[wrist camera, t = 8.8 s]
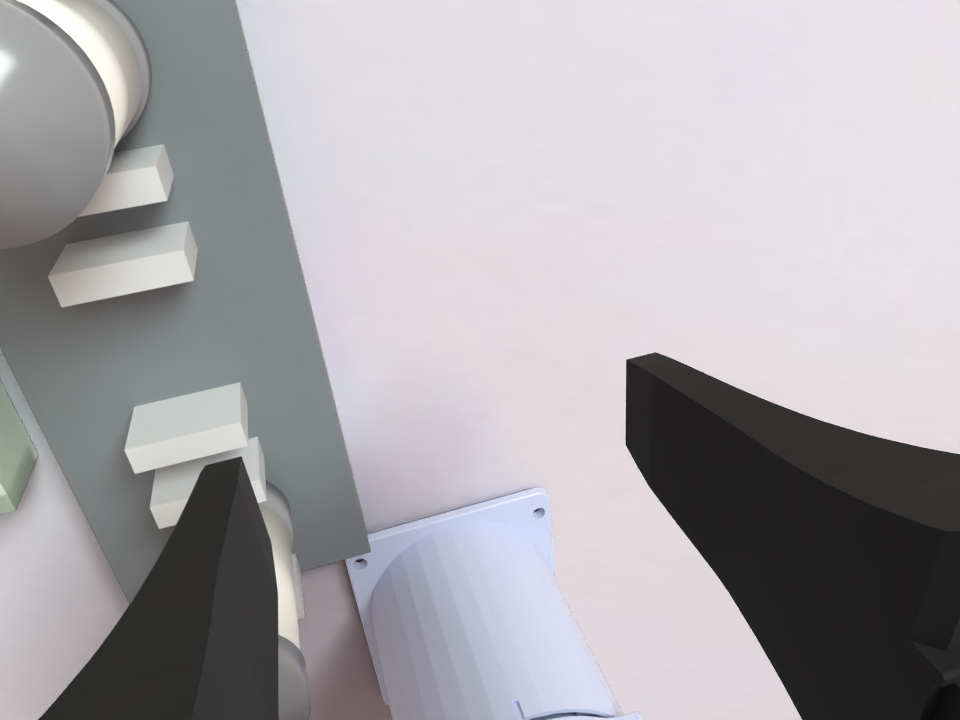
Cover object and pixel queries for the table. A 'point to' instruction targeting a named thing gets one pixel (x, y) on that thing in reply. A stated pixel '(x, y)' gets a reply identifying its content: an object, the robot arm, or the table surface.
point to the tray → (13, 455)
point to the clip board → (182, 316)
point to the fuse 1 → (63, 108)
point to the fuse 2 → (286, 609)
